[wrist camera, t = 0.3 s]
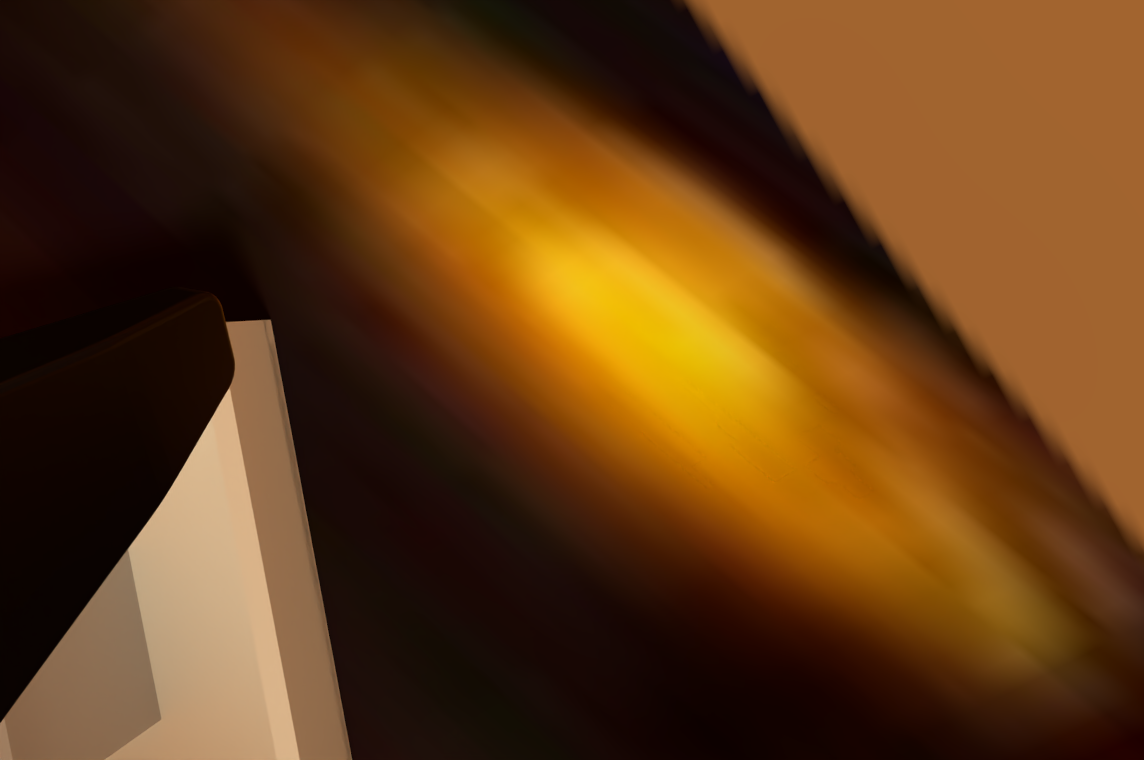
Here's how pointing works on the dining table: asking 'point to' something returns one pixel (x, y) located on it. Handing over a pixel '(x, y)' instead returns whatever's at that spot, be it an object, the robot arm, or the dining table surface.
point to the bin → (238, 589)
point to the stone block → (89, 684)
